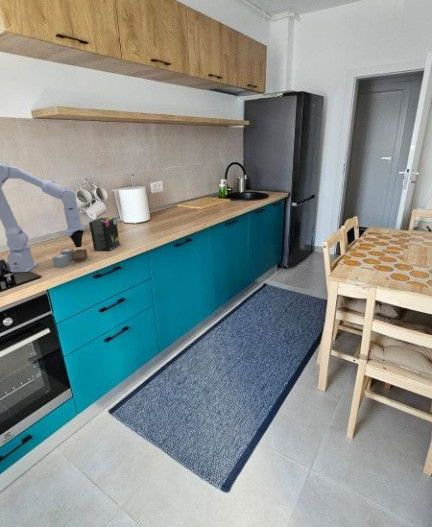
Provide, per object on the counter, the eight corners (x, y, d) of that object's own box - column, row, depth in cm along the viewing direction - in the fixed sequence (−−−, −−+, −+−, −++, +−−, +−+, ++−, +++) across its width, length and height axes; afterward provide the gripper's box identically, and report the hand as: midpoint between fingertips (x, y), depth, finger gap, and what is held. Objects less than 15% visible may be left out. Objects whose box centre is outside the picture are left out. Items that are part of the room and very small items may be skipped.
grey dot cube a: (72, 260, 144) (70, 251, 142) (62, 261, 143) (60, 252, 141) (75, 257, 148) (73, 248, 146) (64, 258, 147) (62, 249, 146)
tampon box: (110, 251, 155) (105, 222, 150) (93, 250, 157) (88, 222, 152) (120, 244, 165) (116, 217, 160) (104, 244, 167) (100, 217, 162)
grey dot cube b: (63, 267, 135) (60, 257, 134) (54, 267, 136) (51, 257, 135) (69, 264, 139) (67, 254, 138) (61, 263, 141) (59, 253, 139)
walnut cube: (84, 261, 142) (82, 252, 140) (74, 261, 142) (72, 252, 140) (88, 258, 146) (86, 249, 145) (78, 258, 146) (76, 249, 145)
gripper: (75, 220, 130) (81, 251, 135) (88, 213, 144) (93, 242, 149) (58, 221, 130) (65, 252, 135) (72, 214, 144) (78, 242, 149)
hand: (78, 246), depth 142 cm, fingers closed
